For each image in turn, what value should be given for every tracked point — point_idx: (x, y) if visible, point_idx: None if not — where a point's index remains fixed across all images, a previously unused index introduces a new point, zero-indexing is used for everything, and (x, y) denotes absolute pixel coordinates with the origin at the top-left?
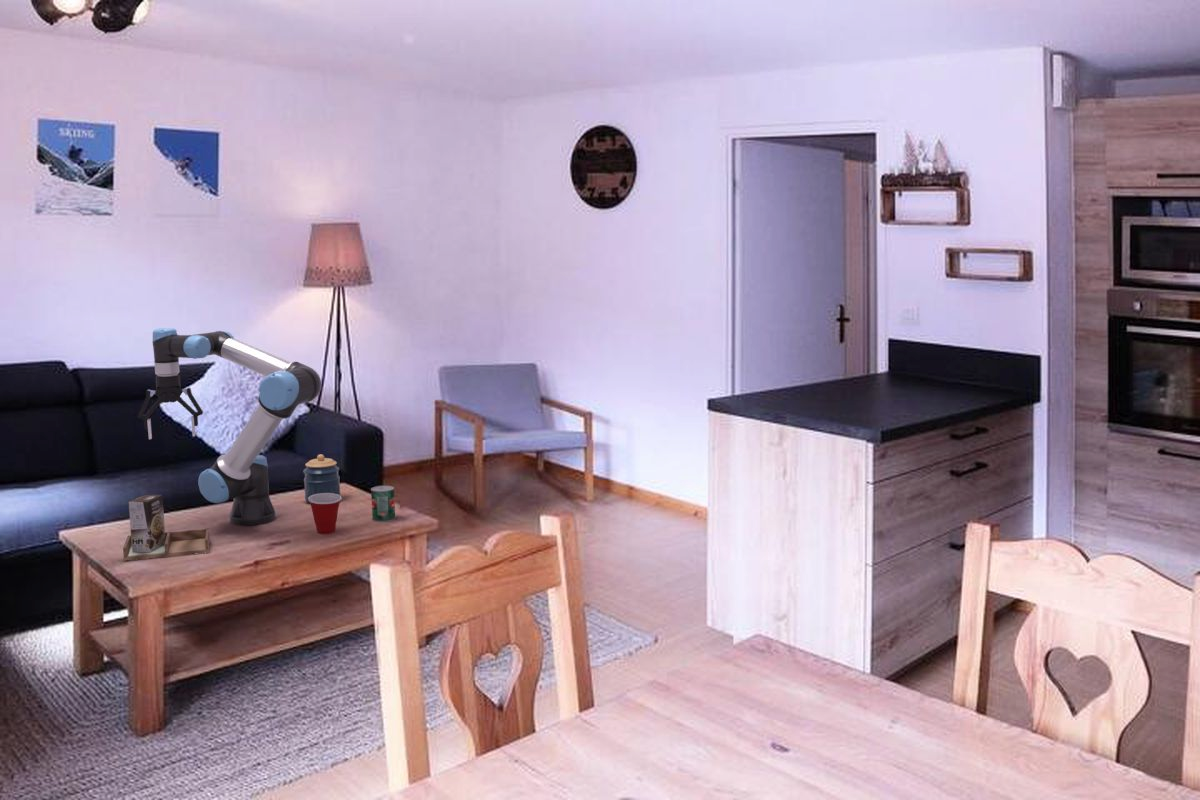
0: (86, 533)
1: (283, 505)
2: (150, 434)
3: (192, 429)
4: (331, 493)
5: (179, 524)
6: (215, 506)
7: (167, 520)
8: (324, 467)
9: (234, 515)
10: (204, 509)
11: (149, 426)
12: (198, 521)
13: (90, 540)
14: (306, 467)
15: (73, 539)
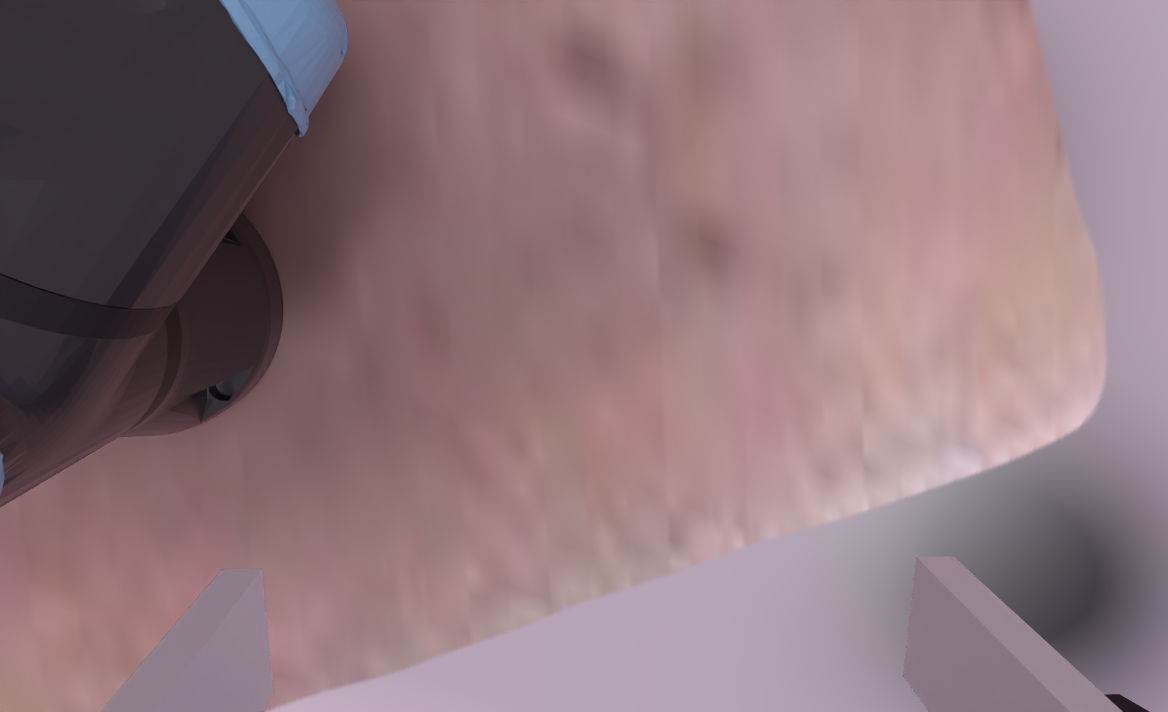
0: (1024, 342)
1: (7, 569)
2: (966, 599)
3: (198, 644)
4: None
5: (562, 353)
6: (394, 667)
7: (629, 462)
8: None
9: (224, 240)
10: (448, 624)
11: (1076, 704)
12: (463, 381)
13: (1007, 186)
14: None
15: (1087, 242)
